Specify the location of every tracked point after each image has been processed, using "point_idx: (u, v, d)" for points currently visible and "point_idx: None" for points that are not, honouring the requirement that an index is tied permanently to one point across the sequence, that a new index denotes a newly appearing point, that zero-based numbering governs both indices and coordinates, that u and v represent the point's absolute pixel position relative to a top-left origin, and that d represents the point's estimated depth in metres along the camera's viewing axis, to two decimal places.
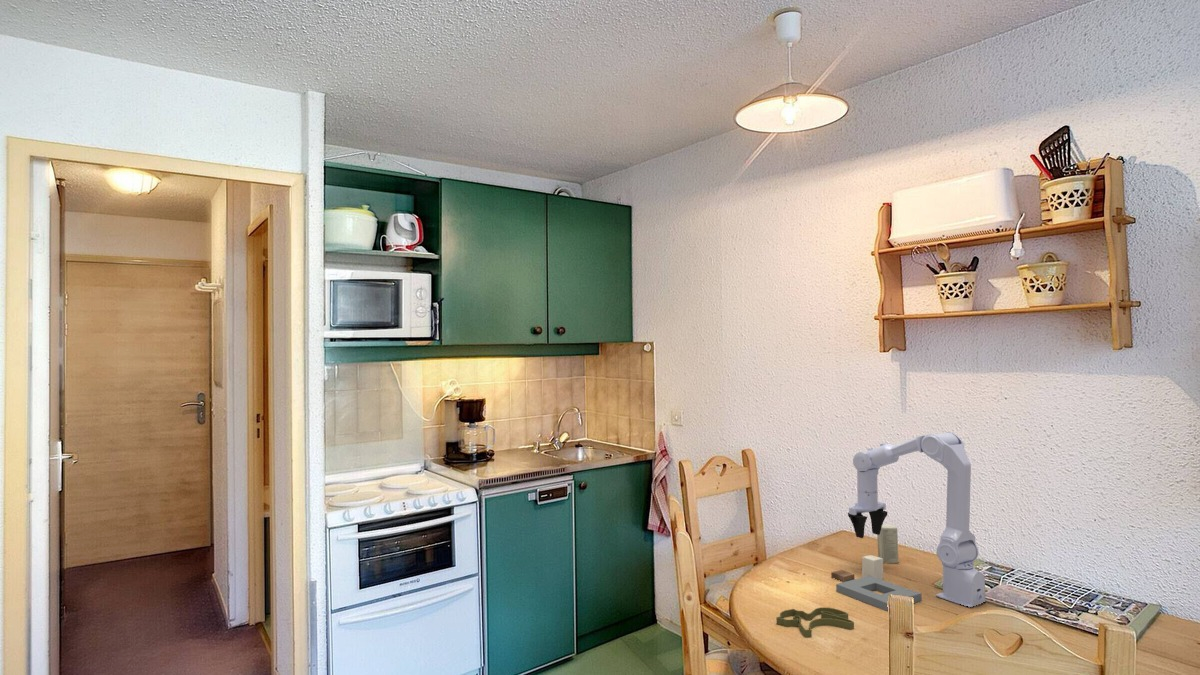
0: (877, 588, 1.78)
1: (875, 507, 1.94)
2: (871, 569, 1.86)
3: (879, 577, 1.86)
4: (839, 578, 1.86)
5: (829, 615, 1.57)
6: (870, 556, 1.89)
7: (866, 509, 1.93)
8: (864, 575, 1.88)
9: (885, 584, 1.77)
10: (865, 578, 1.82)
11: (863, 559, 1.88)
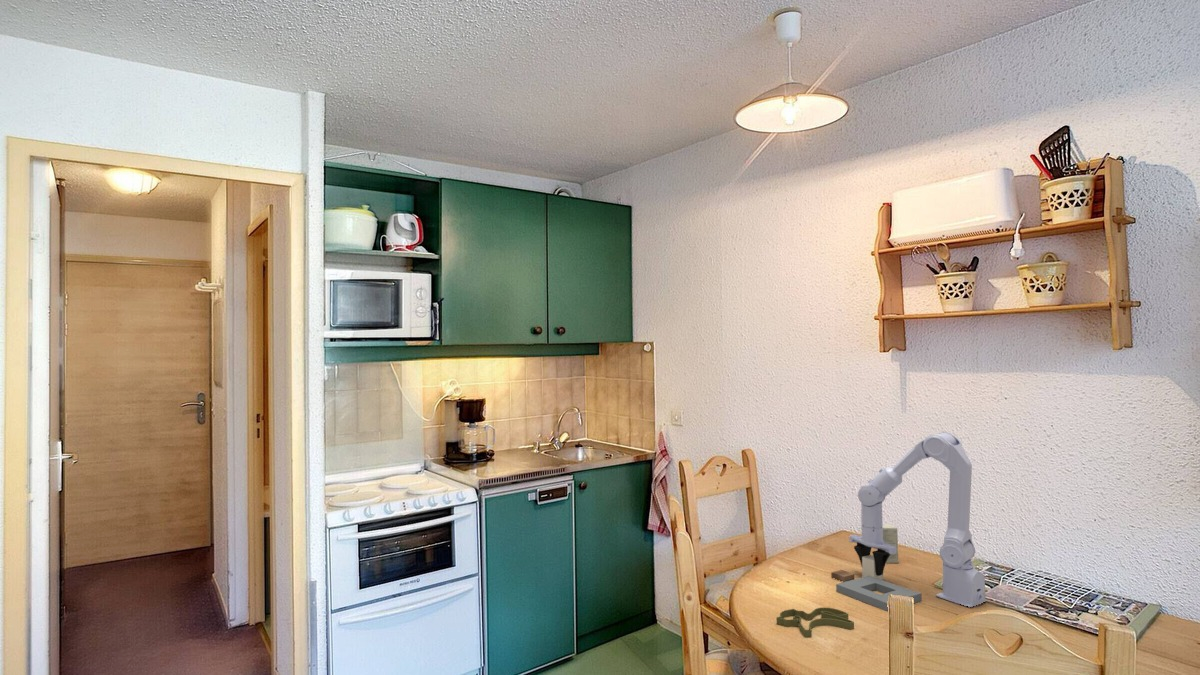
0: (877, 588, 1.78)
1: (865, 542, 1.87)
2: (871, 569, 1.86)
3: (879, 577, 1.86)
4: (839, 578, 1.86)
5: (829, 615, 1.57)
6: (870, 556, 1.89)
7: (858, 540, 1.90)
8: (864, 575, 1.88)
9: (885, 584, 1.77)
10: (865, 578, 1.82)
11: (863, 559, 1.88)
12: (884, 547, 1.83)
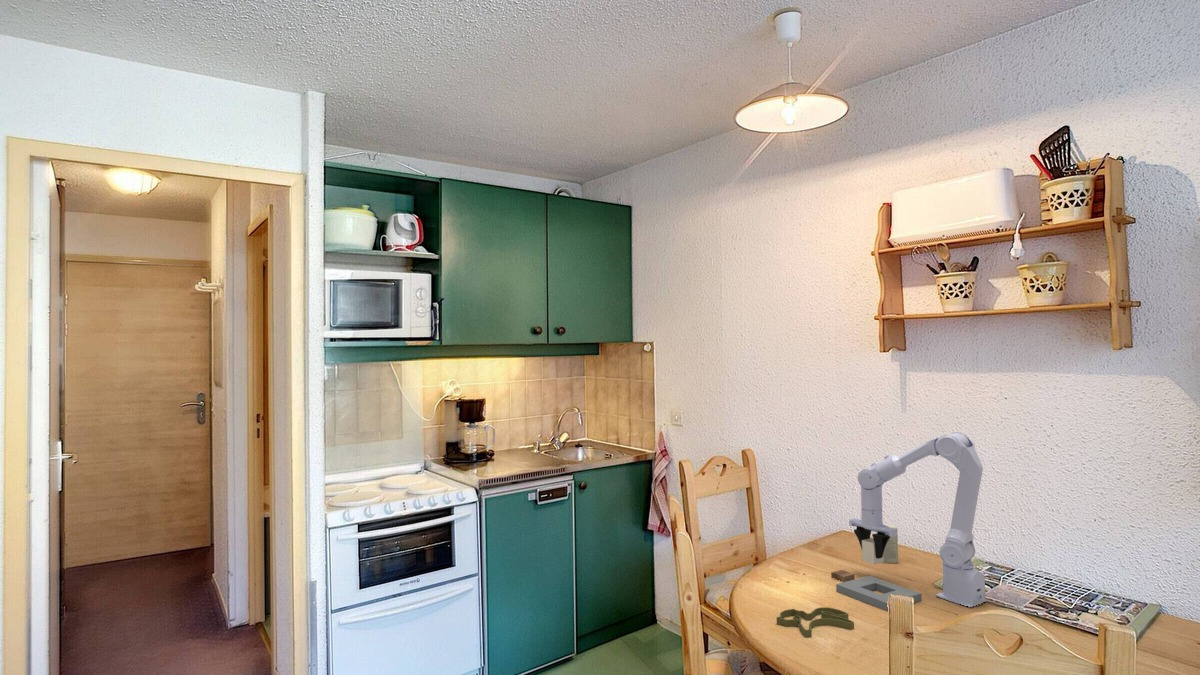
0: (877, 588, 1.78)
1: (864, 525, 1.87)
2: (871, 552, 1.86)
3: (879, 560, 1.86)
4: (839, 578, 1.86)
5: (829, 615, 1.57)
6: (870, 539, 1.89)
7: (858, 524, 1.90)
8: (864, 558, 1.88)
9: (885, 584, 1.77)
10: (865, 578, 1.82)
11: (863, 542, 1.88)
12: (884, 530, 1.83)
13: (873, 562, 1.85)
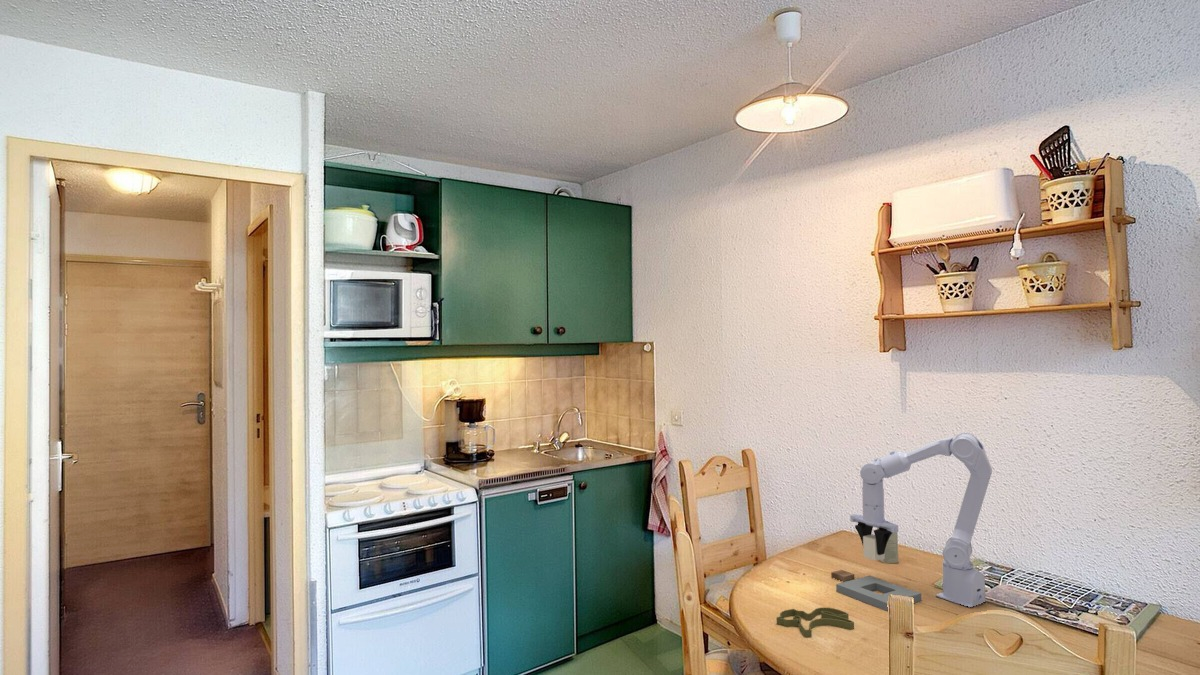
0: (877, 588, 1.78)
1: (866, 520, 1.83)
2: (872, 548, 1.82)
3: (880, 556, 1.82)
4: (839, 578, 1.86)
5: (829, 615, 1.57)
6: (871, 535, 1.85)
7: (859, 519, 1.86)
8: (865, 554, 1.84)
9: (885, 584, 1.77)
10: (865, 578, 1.82)
11: (864, 538, 1.84)
12: (885, 525, 1.79)
13: (874, 558, 1.81)
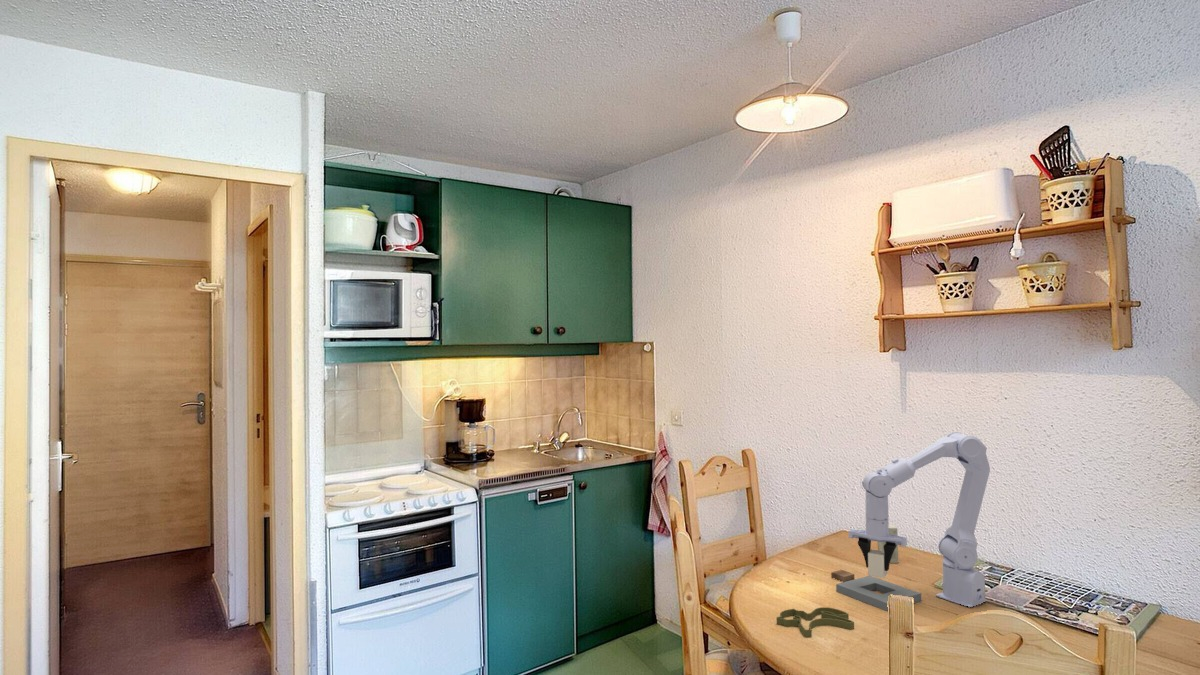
0: (877, 588, 1.78)
1: (873, 536, 1.72)
2: (880, 565, 1.72)
3: (885, 572, 1.73)
4: (839, 578, 1.86)
5: (829, 615, 1.57)
6: (873, 551, 1.75)
7: (862, 535, 1.74)
8: (871, 572, 1.73)
9: (885, 584, 1.77)
10: (865, 578, 1.82)
11: (869, 555, 1.73)
12: (896, 539, 1.70)
13: (883, 576, 1.71)
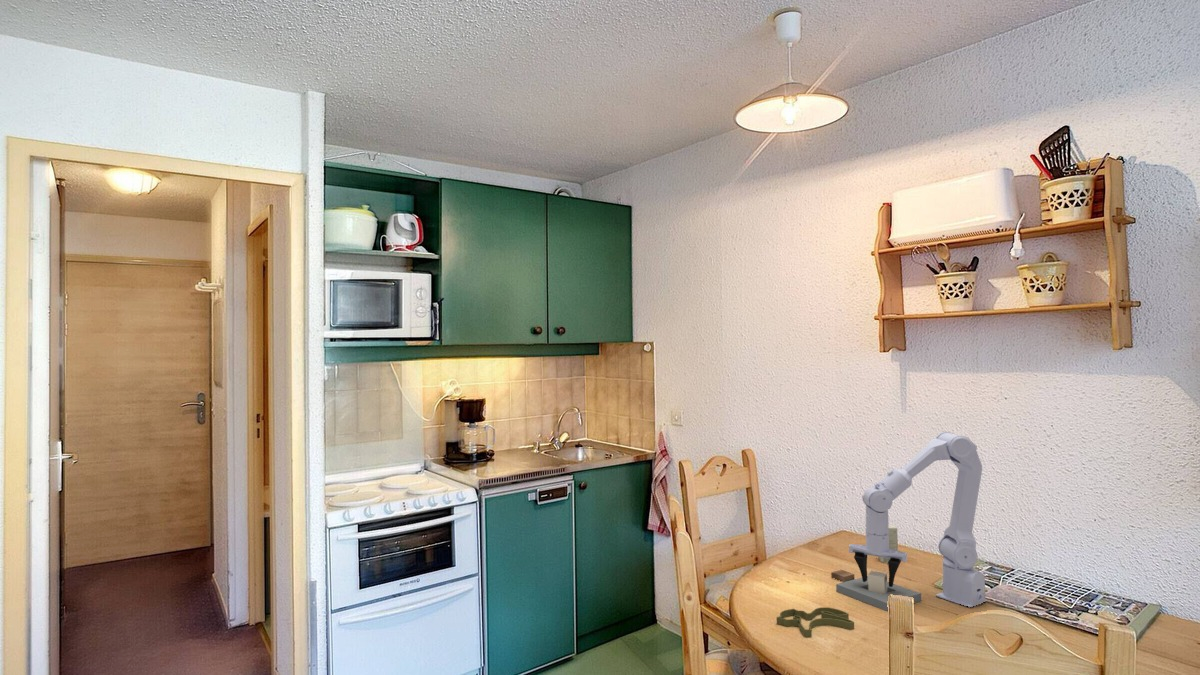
0: None
1: (874, 551, 1.72)
2: (880, 587, 1.72)
3: None
4: (839, 578, 1.86)
5: (829, 615, 1.57)
6: (874, 572, 1.75)
7: (863, 550, 1.74)
8: None
9: None
10: None
11: (870, 577, 1.73)
12: (896, 555, 1.70)
13: None
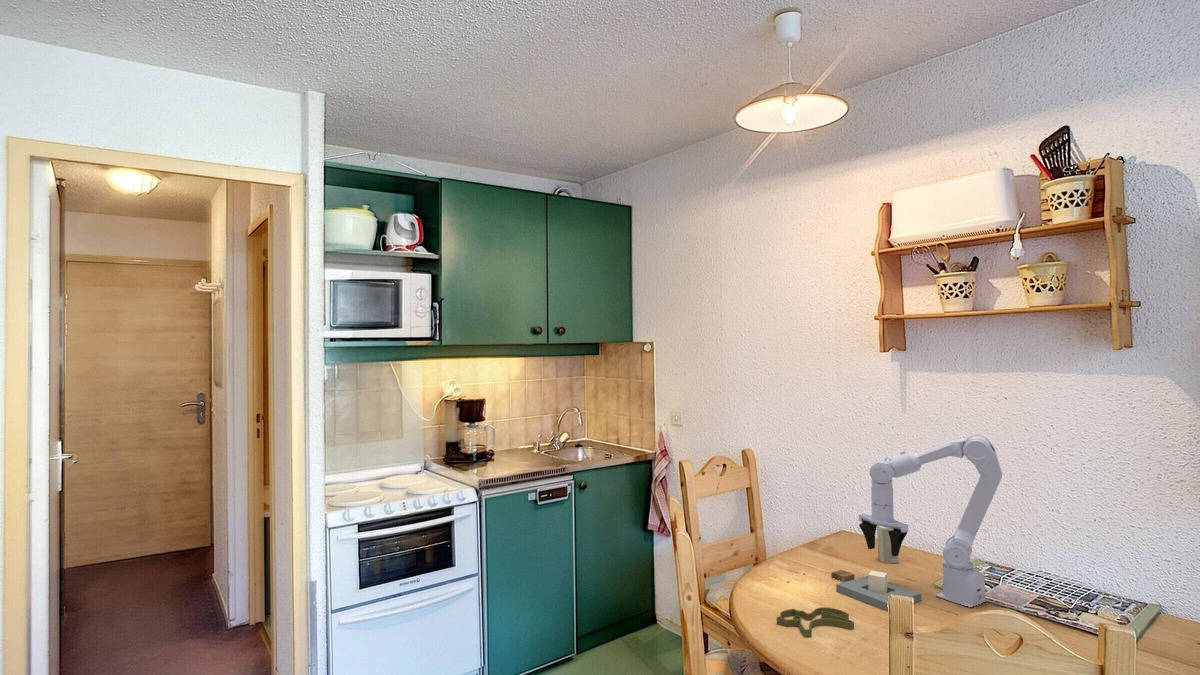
0: None
1: (875, 520, 1.81)
2: (880, 587, 1.72)
3: None
4: (839, 578, 1.86)
5: (829, 615, 1.57)
6: (874, 572, 1.75)
7: (868, 519, 1.84)
8: None
9: None
10: (865, 578, 1.82)
11: (870, 577, 1.73)
12: (895, 525, 1.77)
13: None
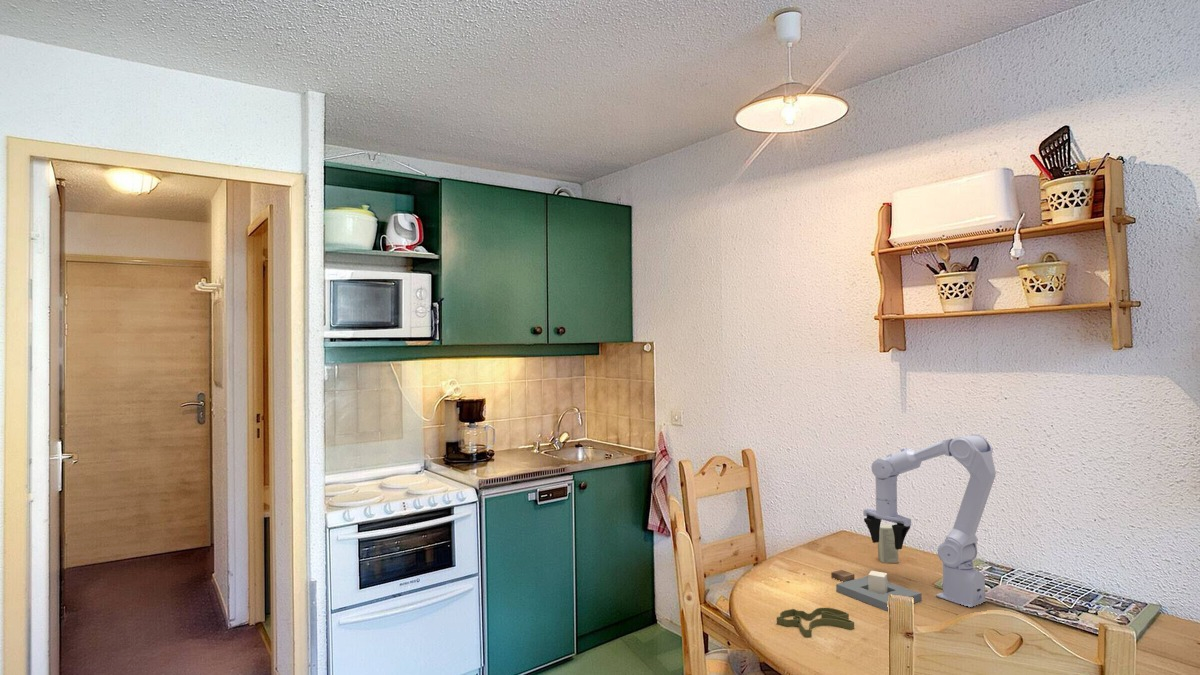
0: None
1: (879, 515, 1.87)
2: (880, 587, 1.72)
3: None
4: (839, 578, 1.86)
5: (829, 615, 1.57)
6: (874, 572, 1.75)
7: (872, 514, 1.90)
8: None
9: None
10: (865, 578, 1.82)
11: (870, 577, 1.73)
12: (899, 519, 1.84)
13: None
